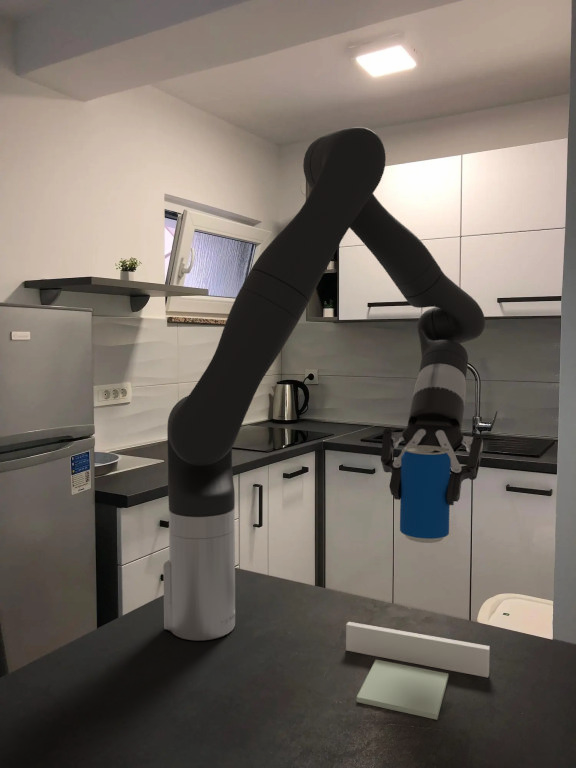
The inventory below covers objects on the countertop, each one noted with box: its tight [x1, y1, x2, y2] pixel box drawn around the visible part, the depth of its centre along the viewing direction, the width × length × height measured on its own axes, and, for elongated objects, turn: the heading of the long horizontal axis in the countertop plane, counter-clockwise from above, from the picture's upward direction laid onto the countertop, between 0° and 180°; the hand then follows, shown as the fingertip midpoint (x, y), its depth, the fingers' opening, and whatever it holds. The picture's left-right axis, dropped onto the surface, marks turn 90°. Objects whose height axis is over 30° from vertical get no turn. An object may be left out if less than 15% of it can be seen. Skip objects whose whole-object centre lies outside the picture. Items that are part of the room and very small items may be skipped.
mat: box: [356, 659, 449, 720], centre depth 74 cm, size 9×9×1 cm
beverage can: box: [399, 445, 451, 544], centre depth 85 cm, size 6×6×12 cm
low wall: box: [345, 621, 491, 678], centre depth 81 cm, size 18×1×4 cm, turn 68°
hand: (423, 499), depth 83 cm, fingers closed on beverage can, 6 cm apart
